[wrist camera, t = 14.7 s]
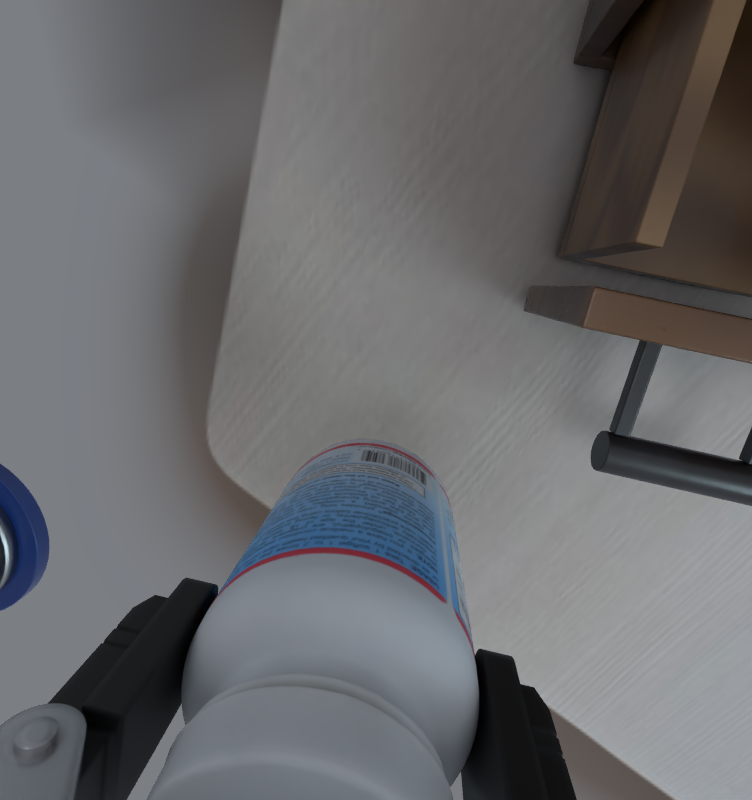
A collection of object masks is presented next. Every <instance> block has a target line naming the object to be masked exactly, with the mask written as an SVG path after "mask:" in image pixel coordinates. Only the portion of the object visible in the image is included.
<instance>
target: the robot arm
mask: <svg viewBox="0 0 752 800" xmlns="http://www.w3.org/2000/svg"><path fill="white" fill-rule="evenodd" d="M18 555H19V552H18V542H17V537H16V534H15V531H14V528H13V525H12V523H11V521H10V519H9V517H8V516H7V514H6V512H5V511H4V509H3V508H2V507H1V506H0V590H2V589H3V588H4V587H5V586H6V585H7V584H8V583H9V582H10V580H11V579H12V577H13V575H14V573H15V571H16V567H17V563H18ZM217 595H218V586H217V585H215V584H211V583H207V582H203V581H199V580H194V579H190V578H185V579H183V580H182V582H181V583H180V584H179V585H178V587H177V588H176V589H175V590H174V591H173V593H172V594H171V595H170V596H169V598H165V597H161V596H157V595H154V596H153V597H151V598H149V599H147V600H146V601H144V602H142V603H140V604H139V605H137V606H135V607H134V608H132V610H131V611H130V612H129V613H128V614H127V615H126V616H125V618H124V619H123V620H122V621H121V622H120V623H119V624H118V626H117V628H116V629H114V630H113V631H112V632H111V633H110V634H109V635H108V637H107V638H106V639H105V641H104V643H103V644H100V646H99V647H98V648H97V649H96V650H95V651H94V652H93V653H92V655H91V656H90V657H89V658H88V659H87V660H86V661H85V662H84V664H83V665H82V666H81V667H80V668H79V669H78V670H77V671H76V673H75V674H74V675H73V676H72V677H71V678H70V679H69V680H68V682H67V683H66V684H65V685H64V686H63V687H62V688H61V689H60V691H59V692H58V693H57V694H56V695H55V696H54V697H53V698H52V700H51V701H50V702H49V703H48V704H43V705H38V706H35V707H32V708H29V709H27V710H24V711H22V712H20V713H18V714H16V715H14V716H13V717H11V718H10V719H8V720H7V721H5V722H4V723H3V724H2V725H1V726H0V800H127V798H128V796H129V795H130V793H131V791H132V789H133V788H134V786H135V784H136V782H137V780H138V778H139V777H140V775H141V773H142V772H143V770H144V768H145V767H146V765H147V763H148V761H149V759H150V758H151V756H152V754H153V753H154V751H155V749H156V747H157V745H158V744H159V742H160V740H161V738H162V737H163V735H164V733H165V731H166V730H167V728H168V726H169V724H170V723H171V721H172V719H173V717H174V716H175V714H176V712H177V710H178V709H179V707H180V705H181V703H182V687H181V686H182V678H183V670H184V664H185V660H186V656H187V653H188V650H189V647H190V644H191V642H192V639H193V637H194V634H195V633H196V631H197V629H198V627H199V625H200V623H201V622H202V620H203V618H204V616H205V614H206V612H207V611H208V609H209V608H210V606H211V604H212V603H213V601H214V600H215V598H216V597H217ZM475 661H476V667H477V678H478V686H479V718H478V724H477V730H476V735H475V739H474V742H473V745H472V749H471V751H470V754H469V756H468V758H467V761H466V763H465V765H464V767H463V768H462V770H461V775H462V788H463V799H464V800H576V796H575V793H574V789H573V786H572V783H571V779H570V776H569V773H568V769H567V766H566V763H565V760H564V759H563V758H562V754H563V753H562V750H561V746H560V744H559V740H558V738H556V734H557V733H556V730H555V727H554V723H553V720H552V717H551V713H550V710H549V709H548V707H547V706H546V704H545V703H544V701H543V700H542V698H541V697H540V696H539V694H538V693H537V691H536V690H535V688H534V687H530V686H525V685H521V684H520V681H519V677H518V673H517V669H516V665H515V662H514V659H513V657H511V656H508V655H504V654H500V653H495V652H491V651H487V650H483V649H479V650H478V651H477V653H476V655H475Z"/></svg>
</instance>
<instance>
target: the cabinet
mask: <svg viewBox="0 0 752 800" xmlns="http://www.w3.org/2000/svg"><path fill="white" fill-rule="evenodd" d="M643 1H644V0H590V3H589V6H588V10H587V14H586V17H585V21H584V25H583V29H582V32H581V36H580V40H579V43H578V47H577V51H576V55H575V58H574V63H577V64H582V65H587V66H593V67H598V68H603V69H609V70H613V67H614V63H615V60H616V56H617V53H618V49H619V46H620V42H621V39H622V35H623V32H624V28H625V25H626V23H627V22H628V21H629V19H630V18H631V17H632V16H633V14H634V13H635V12H636V10H637V9H638V8H639V6H640V5H641V4H642V3H643Z"/></svg>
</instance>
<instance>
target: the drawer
mask: <svg viewBox="0 0 752 800" xmlns="http://www.w3.org/2000/svg"><path fill="white" fill-rule="evenodd" d="M559 257H560V258H564V259H569V260H573V261H578V262H583V263H588V264H593V265H598V266H603V267H607V268H612V269H617V270H622V271H627V272H632V273H637V274H641V275H646V276H651V277H656V278H661V279H666V280H671V281H675V282H680V283H685V284H690V285H695V286H700V287H705V288H709V289H714V290H719V291H724V292H729V293H734V294H739V295H743V296H748V297H752V0H644V1H643V3H642V4H641V5H640V6H639V8H638V9H637V10H636V12H635V13H634V14H633V16H632V17H631V18H630V19H629V21H628V22H627V23H626V25H625V28H624V32H623V35H622V39H621V42H620V46H619V49H618V53H617V56H616V60H615V63H614V67H613V70H612V73H611V77H610V80H609V84H608V87H607V91H606V94H605V98H604V101H603V105H602V108H601V112H600V115H599V119H598V122H597V126H596V129H595V132H594V136H593V139H592V143H591V146H590V150H589V153H588V157H587V160H586V164H585V167H584V171H583V174H582V178H581V181H580V185H579V188H578V191H577V195H576V198H575V202H574V205H573V209H572V212H571V216H570V219H569V223H568V226H567V230H566V233H565V237H564V240H563V244H562V247H561V250H560V254H559ZM524 311H526V312H529V313H533V314H536V315H540V316H543V317H547V318H550V319H554V320H557V321H561V322H564V323H568V324H571V325H575V326H579V327H582V328H586V329H591V330H596V331H600V332H605V333H610V334H615V335H619V336H624V337H629V338H633V339H638V340H640V342H639V345H638V347H637V350H636V353H635V356H634V359H633V362H632V365H631V368H630V371H629V374H628V377H627V379H626V382H625V385H624V388H623V391H622V394H621V397H620V400H619V403H618V406H617V409H616V411H615V414H614V417H613V420H612V423H611V426H610V431H611V432H609V431H601V432H600V433H599V434H598V435H597V437H596V438H595V440H594V443H593V446H592V450H591V465H592V467H593V469H594V470H596V471H600V472H605V473H609V474H613V475H618V476H622V477H627V478H631V479H635V480H640V481H644V482H649V483H653V484H657V485H662V486H666V487H671V488H675V489H679V490H684V491H688V492H693V493H697V494H701V495H706V496H710V497H715V498H719V499H723V500H728V501H732V502H737V503H741V504H745V505H750V506H752V428H751V430H750V433H749V435H748V437H747V440H746V442H745V445H744V447H743V449H742V452H741V454H740V456H739V459H740V460H742V461H740V460H735V459H731V458H726V457H722V456H717V455H713V454H708V453H704V452H699V451H695V450H690V449H686V448H681V447H677V446H672V445H668V444H663V443H659V442H654V441H650V440H645V439H641V438H636V437H632V436H630V434H631V431H632V429H633V426H634V423H635V420H636V417H637V415H638V412H639V409H640V406H641V403H642V401H643V398H644V395H645V392H646V389H647V386H648V384H649V381H650V378H651V375H652V372H653V370H654V367H655V364H656V361H657V358H658V356H659V353H660V350H661V347H662V345H666V346H671V347H676V348H680V349H685V350H690V351H694V352H699V353H704V354H709V355H713V356H718V357H723V358H727V359H732V360H737V361H742V362H746V363H751V364H752V319H749V318H744V317H739V316H734V315H729V314H725V313H720V312H715V311H710V310H705V309H701V308H696V307H691V306H686V305H681V304H677V303H672V302H667V301H662V300H657V299H653V298H648V297H643V296H638V295H633V294H629V293H624V292H619V291H614V290H609V289H605V288H600V287H583V286H530V289H529V292H528V296H527V300H526V303H525V307H524Z"/></svg>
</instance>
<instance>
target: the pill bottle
mask: <svg viewBox="0 0 752 800" xmlns="http://www.w3.org/2000/svg"><path fill="white" fill-rule="evenodd" d="M181 687H182V710H183V716H184V721H185V725H186V726H185V727H184V728H183V730H182V731H181V732H180V733H179V734H178V736H177V737H176V739H175V741H174V743H173V745H172V746H171V748H170V751H169V753H168V756H167V759H166V762H165V765H164V767H163V769H162V771H161V773H160V775H159V777H158V779H157V781H156V782H155V784H154V786H153V788H152V790H151V792H150V794H149V796H148V798H147V800H453V797H452V792H451V790H450V786H451V785H452V784H453V782H454V781H455V779H456V778H457V776H458V775H459V773H460V772H461V770H462V768H463V767H464V765H465V763H466V761H467V758H468V756H469V754H470V751H471V749H472V745H473V742H474V739H475V735H476V730H477V724H478V718H479V686H478V678H477V667H476V661H475V655H474V649H473V642H472V635H471V630H470V623H469V617H468V610H467V604H466V598H465V591H464V585H463V578H462V572H461V565H460V558H459V552H458V546H457V540H456V533H455V527H454V520H453V514H452V510H451V505H450V502H449V498H448V496H447V493H446V491H445V489H444V487H443V485H442V483H441V481H440V480H439V478H438V477H437V475H436V474H435V473H434V472H433V470H432V469H431V468H430V467H429V466H428V465H427V464H426V463H425V462H424V461H423V460H422V459H420V458H419V457H418V456H416V455H415V454H413V453H411V452H410V451H408V450H406V449H404V448H402V447H400V446H397V445H394V444H391V443H388V442H384V441H379V440H370V439H358V440H350V441H345V442H341V443H338V444H335V445H332V446H330V447H328V448H326V449H324V450H322V451H321V452H319V453H318V454H316V455H314V456H313V457H312V458H311V459H309V460H308V461H307V462H306V463H305V464H304V465H303V466H302V467H301V468H300V469H299V470H298V472H297V473H296V474H295V475H294V477H293V478H292V479H291V481H290V482H289V484H288V485H287V487H286V488H285V490H284V491H283V493H282V495H281V496H280V498H279V499H278V501H277V502H276V504H275V506H274V507H273V509H272V510H271V512H270V514H269V515H268V517H267V518H266V520H265V522H264V523H263V524H262V526H261V528H260V529H259V531H258V532H257V534H256V536H255V537H254V539H253V540H252V542H251V543H250V545H249V547H248V548H247V550H246V551H245V553H244V554H243V556H242V558H241V559H240V561H239V562H238V564H237V565H236V567H235V569H234V570H233V572H232V573H231V575H230V576H229V578H228V579H227V581H226V583H225V584H224V586H223V587H222V589H221V590H220V592H219V594H218V595H217V597H216V598H215V600H214V601H213V603H212V604H211V606H210V608H209V609H208V611H207V612H206V614H205V616H204V618H203V620H202V622H201V623H200V625H199V627H198V629H197V631H196V633H195V634H194V637H193V639H192V642H191V644H190V647H189V650H188V653H187V656H186V660H185V664H184V670H183V678H182V686H181Z"/></svg>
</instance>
